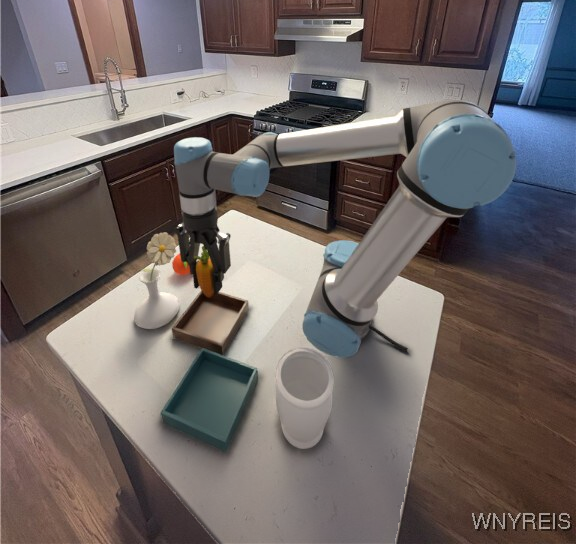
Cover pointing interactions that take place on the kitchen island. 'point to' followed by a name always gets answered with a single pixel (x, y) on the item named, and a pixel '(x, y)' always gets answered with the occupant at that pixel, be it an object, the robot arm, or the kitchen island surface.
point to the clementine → (180, 266)
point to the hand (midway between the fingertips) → (208, 287)
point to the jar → (303, 395)
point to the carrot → (205, 273)
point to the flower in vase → (157, 304)
